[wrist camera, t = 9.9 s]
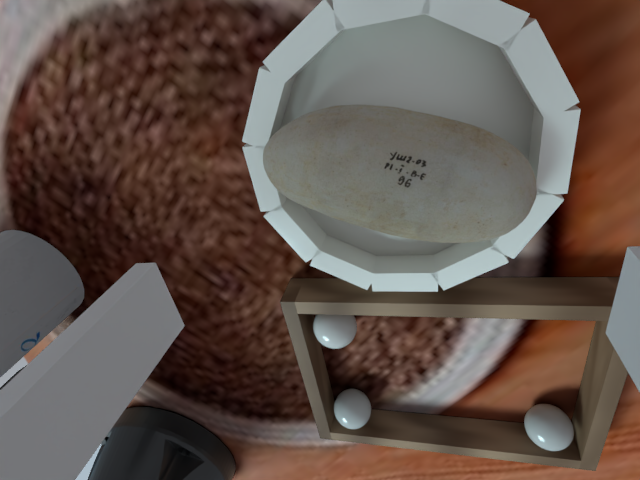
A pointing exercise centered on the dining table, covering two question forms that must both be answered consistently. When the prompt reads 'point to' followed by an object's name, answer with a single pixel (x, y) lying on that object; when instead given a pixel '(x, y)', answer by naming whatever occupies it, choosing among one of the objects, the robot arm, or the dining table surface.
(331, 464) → the dining table surface
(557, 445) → the pebble
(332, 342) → the pebble
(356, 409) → the pale glossy ball
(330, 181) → the stone
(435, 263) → the bowl
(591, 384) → the parts frame
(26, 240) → the mug
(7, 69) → the dining table surface
